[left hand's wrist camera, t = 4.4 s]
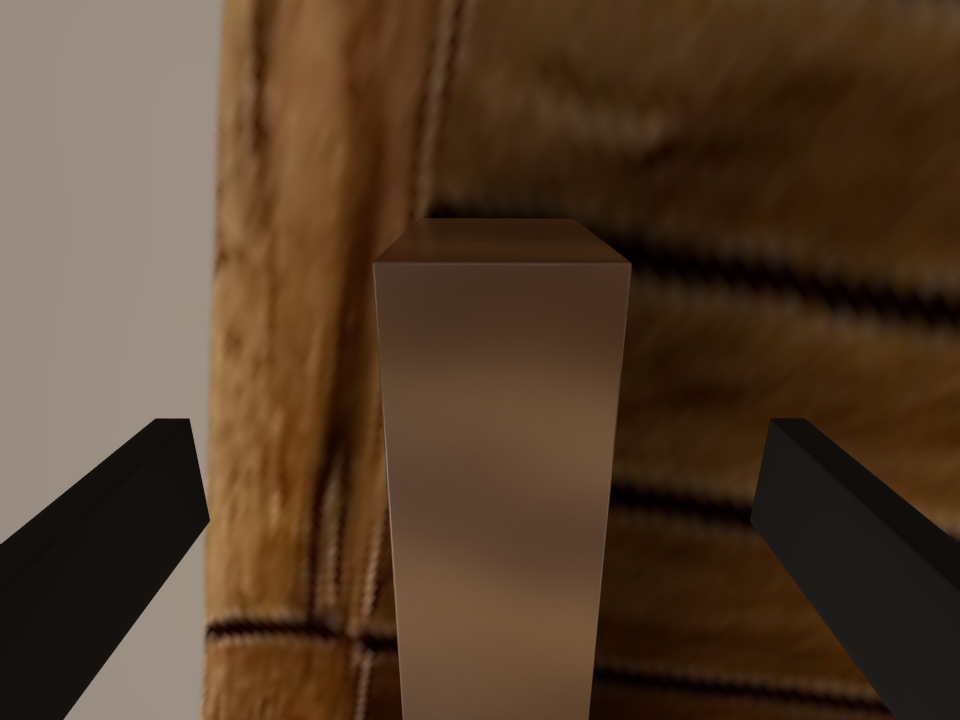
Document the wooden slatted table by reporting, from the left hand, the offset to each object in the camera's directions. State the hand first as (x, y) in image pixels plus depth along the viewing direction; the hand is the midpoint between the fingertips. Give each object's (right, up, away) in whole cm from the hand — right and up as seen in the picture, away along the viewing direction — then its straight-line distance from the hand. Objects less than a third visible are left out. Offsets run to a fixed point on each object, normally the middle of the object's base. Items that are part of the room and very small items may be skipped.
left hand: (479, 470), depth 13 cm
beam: (0, -15, +12) cm, 20 cm away
